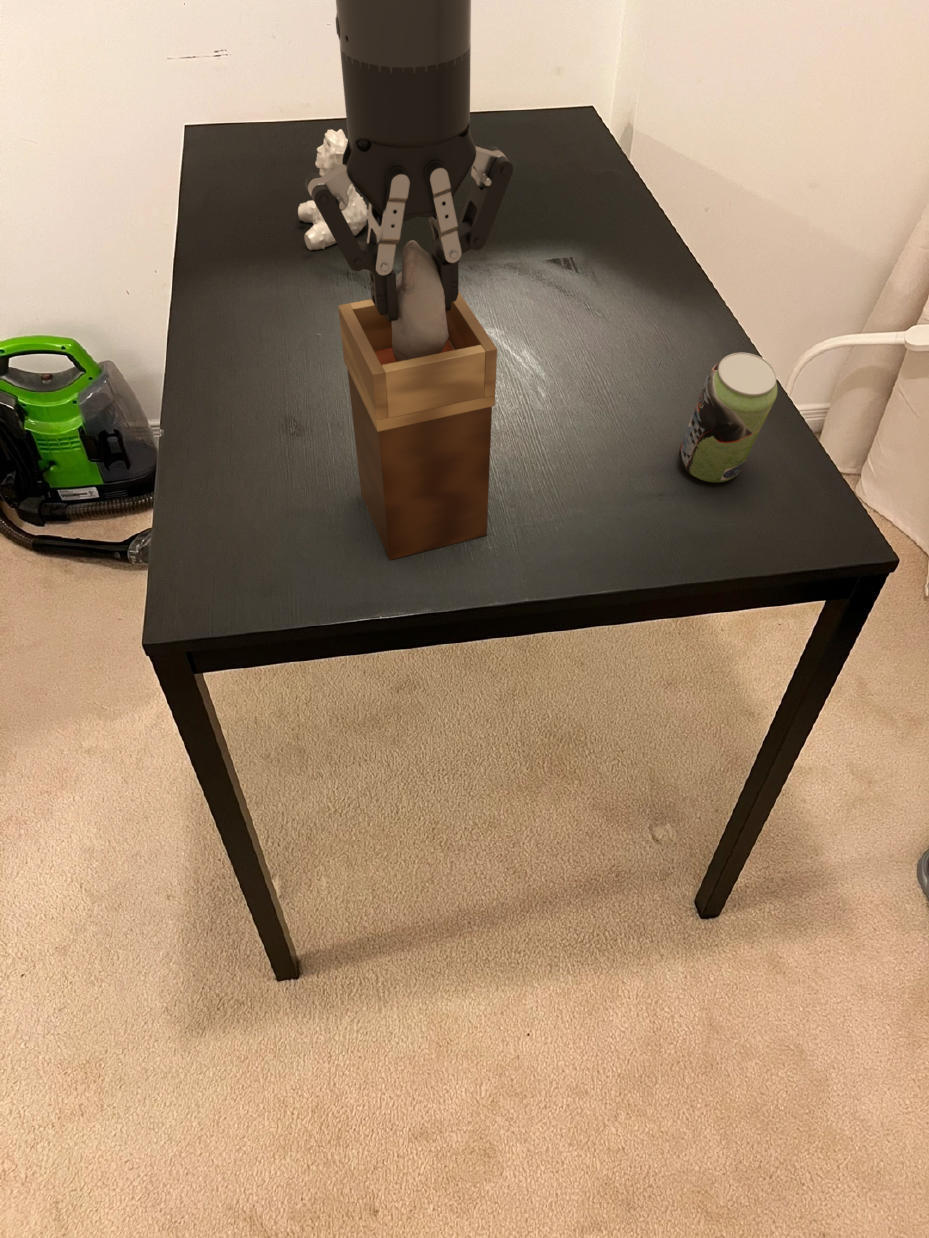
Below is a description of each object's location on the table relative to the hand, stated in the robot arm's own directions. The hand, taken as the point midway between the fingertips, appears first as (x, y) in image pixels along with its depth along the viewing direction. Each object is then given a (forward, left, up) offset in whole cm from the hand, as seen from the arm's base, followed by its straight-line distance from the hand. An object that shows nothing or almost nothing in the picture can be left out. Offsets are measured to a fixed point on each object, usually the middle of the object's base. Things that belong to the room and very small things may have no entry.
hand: (416, 309), depth 63 cm
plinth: (0, 0, -20) cm, 20 cm away
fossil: (0, 0, -5) cm, 5 cm away
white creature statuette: (-6, -53, -21) cm, 57 cm away
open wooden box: (0, 0, -6) cm, 6 cm away
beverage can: (-28, +4, -21) cm, 35 cm away
